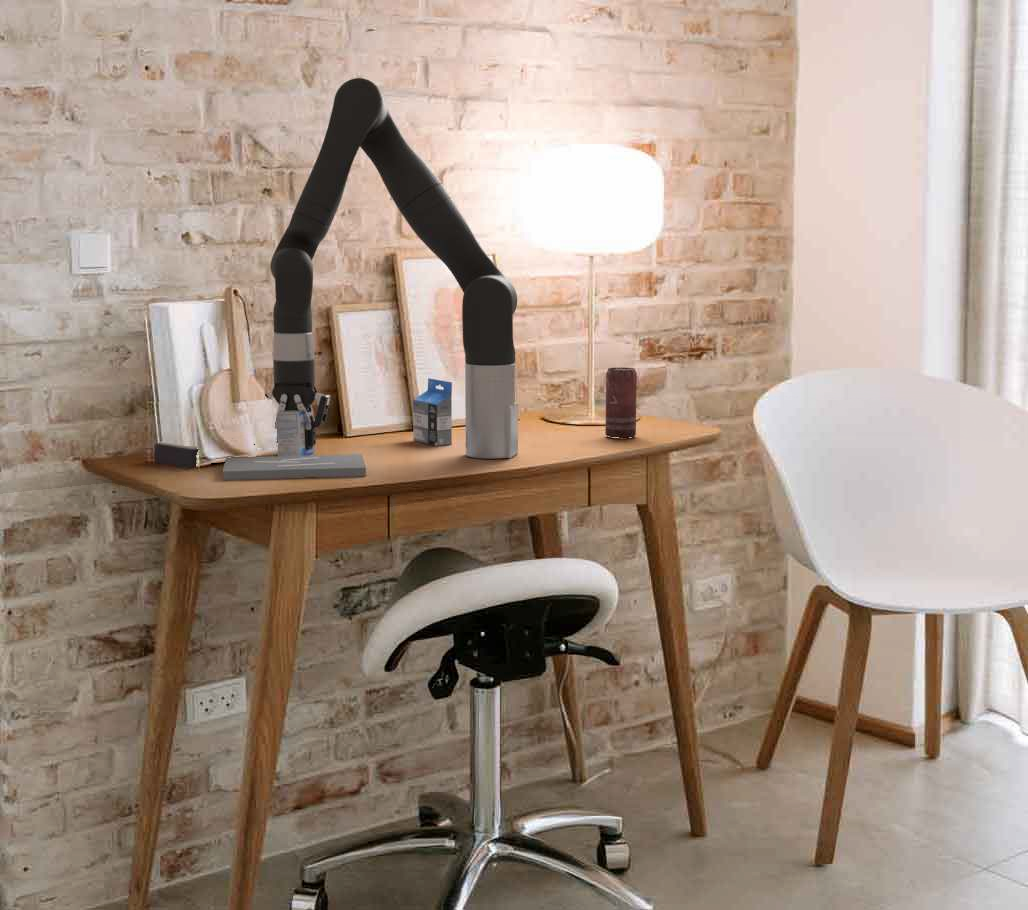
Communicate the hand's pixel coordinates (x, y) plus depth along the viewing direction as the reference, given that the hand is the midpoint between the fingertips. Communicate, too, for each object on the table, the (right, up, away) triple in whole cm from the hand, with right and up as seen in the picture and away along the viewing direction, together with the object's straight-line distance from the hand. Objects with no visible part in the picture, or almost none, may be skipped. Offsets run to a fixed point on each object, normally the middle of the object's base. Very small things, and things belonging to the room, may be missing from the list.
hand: (296, 448), depth 255 cm
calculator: (-16, -3, -4) cm, 17 cm away
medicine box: (0, -2, 0) cm, 2 cm away
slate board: (+2, -4, -16) cm, 16 cm away
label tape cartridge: (+24, +1, +16) cm, 29 cm away
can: (+62, +2, +23) cm, 66 cm away
